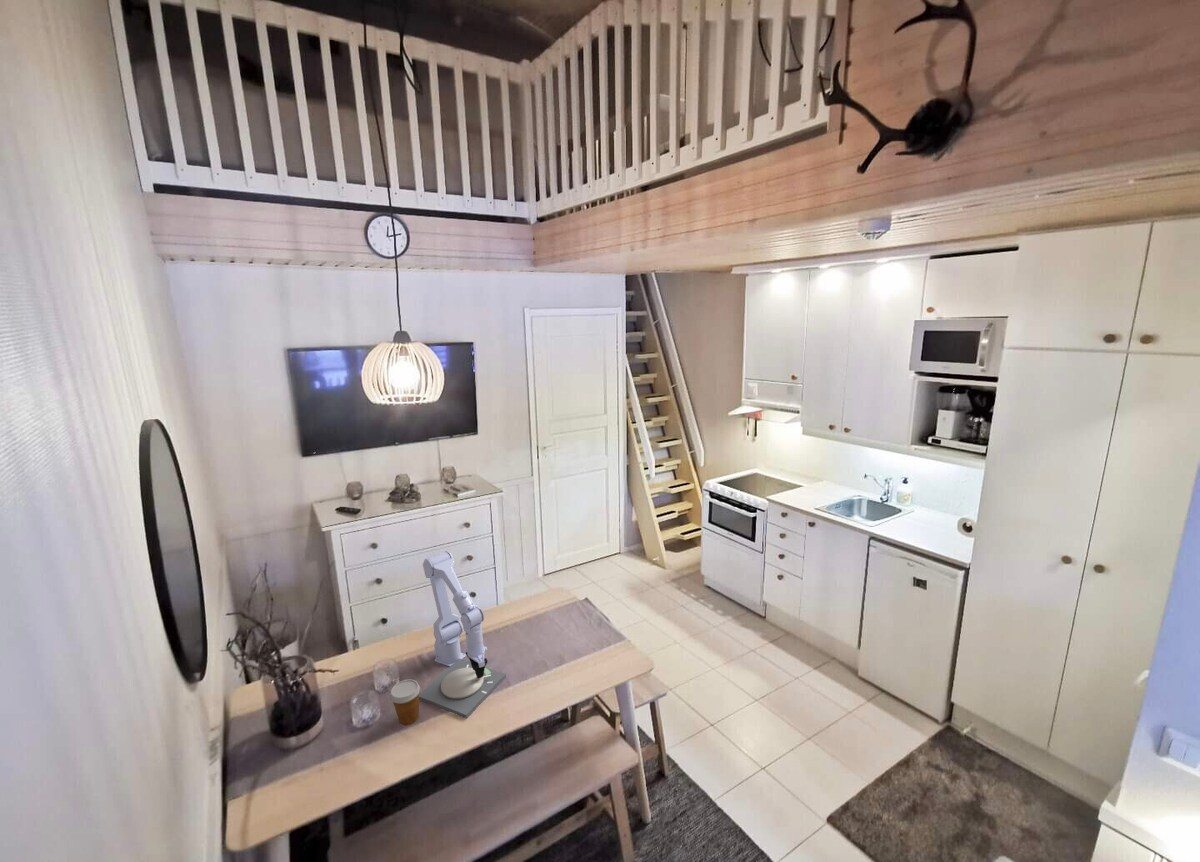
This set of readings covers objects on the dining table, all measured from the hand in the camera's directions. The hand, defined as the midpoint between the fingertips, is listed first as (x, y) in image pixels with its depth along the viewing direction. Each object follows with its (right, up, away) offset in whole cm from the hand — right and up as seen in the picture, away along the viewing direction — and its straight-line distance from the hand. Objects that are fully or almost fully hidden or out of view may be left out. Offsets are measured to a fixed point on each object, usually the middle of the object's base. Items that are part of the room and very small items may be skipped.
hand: (478, 673), depth 194 cm
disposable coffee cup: (-20, -9, -15) cm, 26 cm away
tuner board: (-5, -5, -2) cm, 7 cm away
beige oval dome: (-4, -3, -2) cm, 5 cm away
